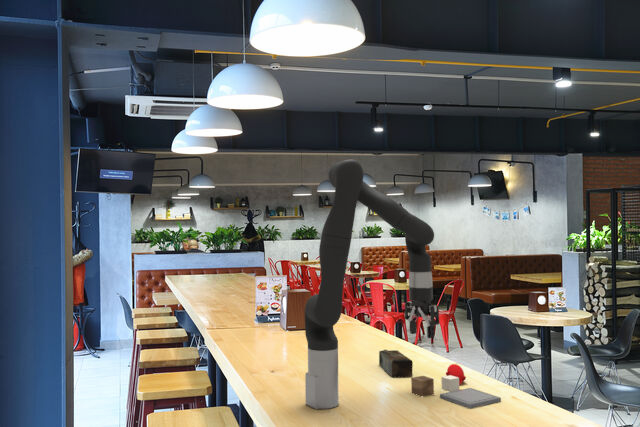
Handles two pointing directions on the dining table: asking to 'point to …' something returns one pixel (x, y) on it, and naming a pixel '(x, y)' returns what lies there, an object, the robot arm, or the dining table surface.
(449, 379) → the cream block
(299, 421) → the dining table surface
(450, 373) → the red rounded lumpy piece
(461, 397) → the plate
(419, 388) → the walnut block
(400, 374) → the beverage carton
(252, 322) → the dining table surface
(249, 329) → the dining table surface
